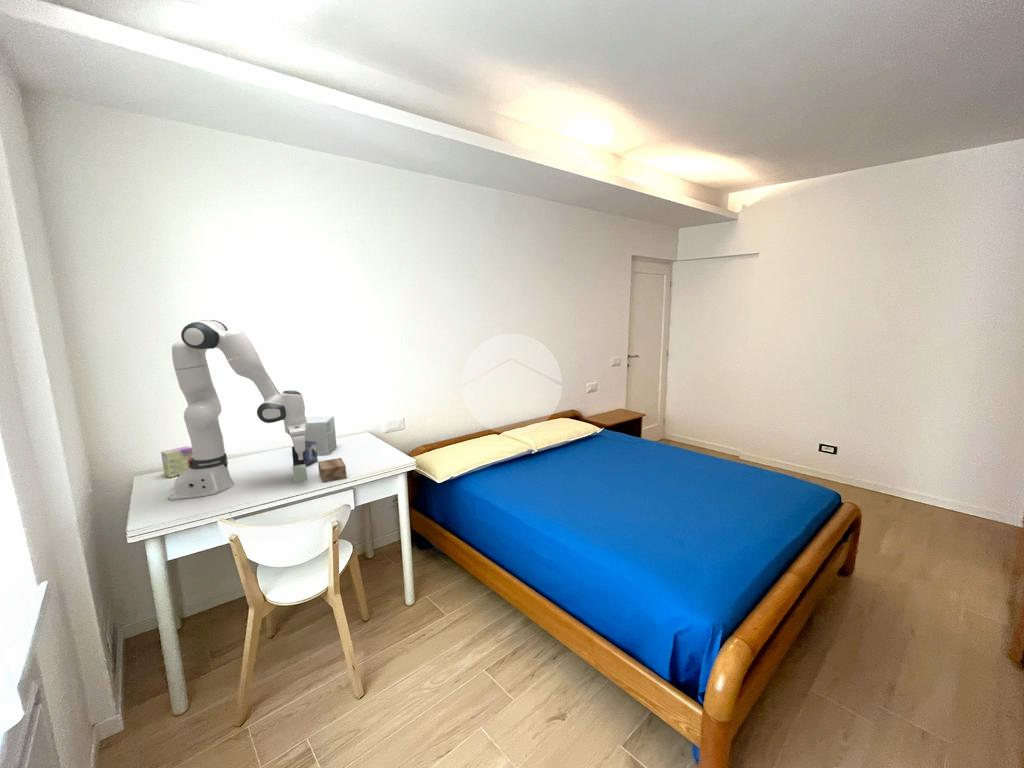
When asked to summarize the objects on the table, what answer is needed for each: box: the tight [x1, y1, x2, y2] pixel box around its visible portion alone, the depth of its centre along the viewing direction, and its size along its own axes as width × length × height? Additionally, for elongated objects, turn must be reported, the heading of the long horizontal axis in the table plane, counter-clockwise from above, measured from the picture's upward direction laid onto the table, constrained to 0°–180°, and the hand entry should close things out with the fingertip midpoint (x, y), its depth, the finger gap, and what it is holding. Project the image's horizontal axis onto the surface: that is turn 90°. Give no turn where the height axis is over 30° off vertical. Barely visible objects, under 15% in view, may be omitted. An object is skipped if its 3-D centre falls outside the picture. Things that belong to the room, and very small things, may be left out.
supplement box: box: [305, 415, 338, 456], centre depth 227 cm, size 17×13×18 cm
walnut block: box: [317, 457, 347, 483], centre depth 194 cm, size 10×12×6 cm
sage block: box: [292, 464, 308, 483], centre depth 190 cm, size 5×5×6 cm
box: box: [160, 445, 193, 479], centre depth 198 cm, size 10×6×12 cm, turn 149°
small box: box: [291, 441, 319, 468], centre depth 209 cm, size 11×6×10 cm, turn 168°
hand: (300, 456), depth 189 cm, fingers open, 8 cm apart
